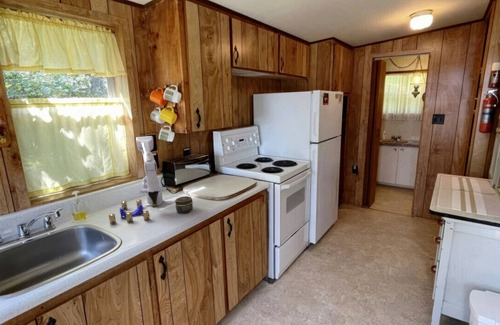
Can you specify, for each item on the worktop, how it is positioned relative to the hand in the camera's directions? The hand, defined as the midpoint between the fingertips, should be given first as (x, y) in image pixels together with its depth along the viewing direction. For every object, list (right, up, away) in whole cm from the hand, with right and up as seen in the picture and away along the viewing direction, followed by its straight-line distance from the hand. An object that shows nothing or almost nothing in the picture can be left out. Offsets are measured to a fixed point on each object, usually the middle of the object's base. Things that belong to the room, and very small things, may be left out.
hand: (155, 203), depth 155 cm
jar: (+17, -5, +2) cm, 18 cm away
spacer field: (-12, -6, 0) cm, 13 cm away
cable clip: (-13, -7, -1) cm, 15 cm away
